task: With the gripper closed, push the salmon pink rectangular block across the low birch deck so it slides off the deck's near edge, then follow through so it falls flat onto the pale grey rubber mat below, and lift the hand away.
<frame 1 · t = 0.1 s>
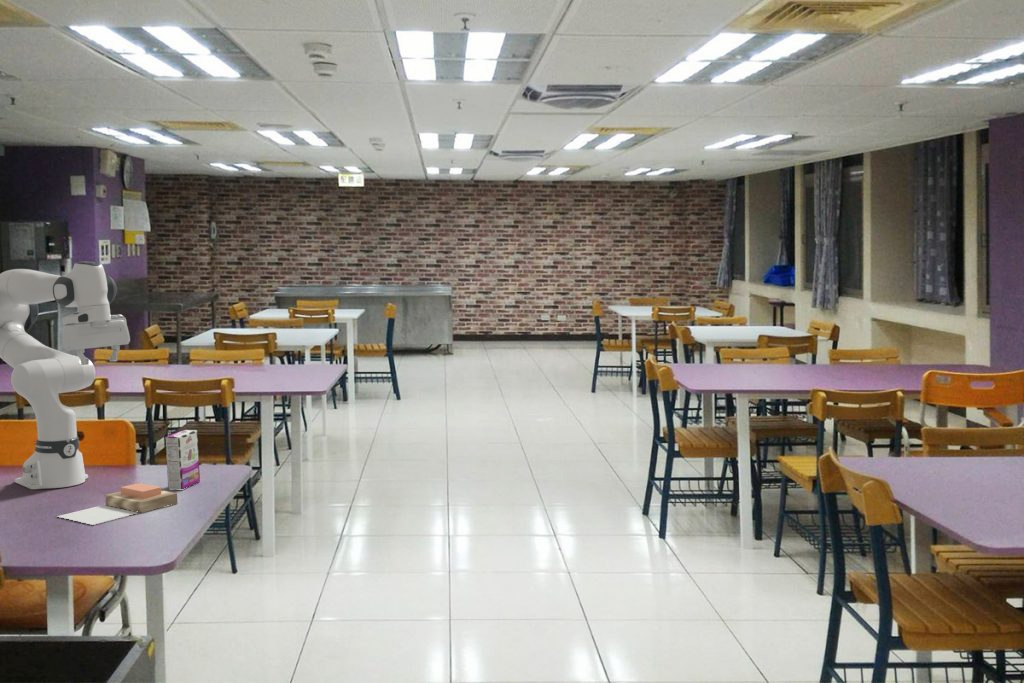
hand: (99, 363, 305), 39 cm above the table, tool pointing down, fingers open, 8 cm apart
salmon pink rectangular block: (141, 494, 295), point 3 cm above the table, touching deck
mat: (97, 515, 283), on the table
candy bar box: (183, 487, 317), on the table
deck: (141, 504, 295), on the table
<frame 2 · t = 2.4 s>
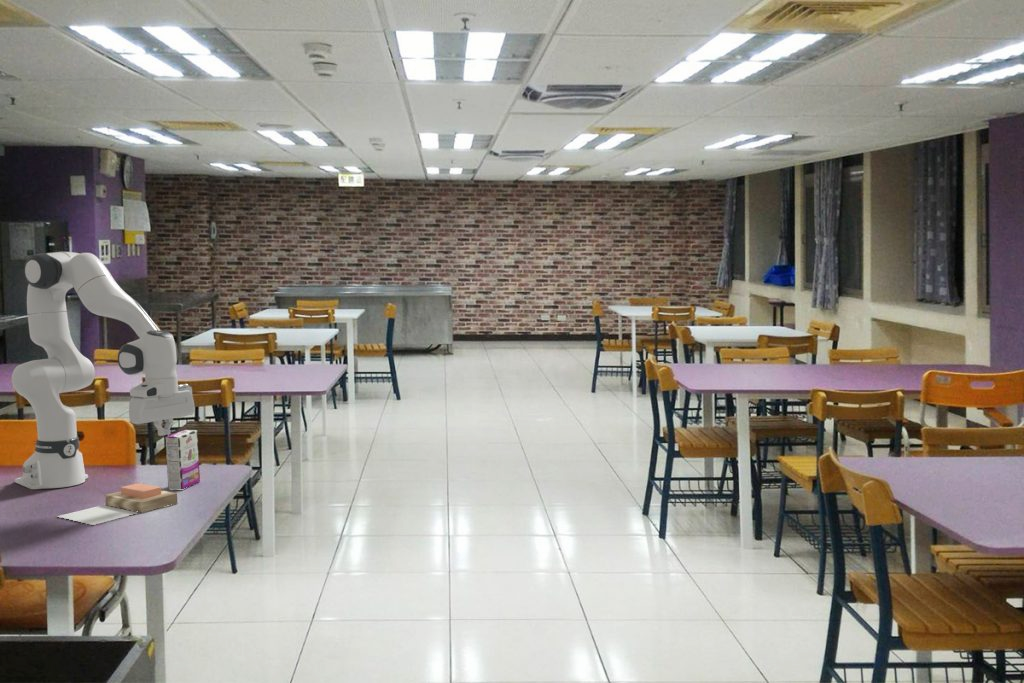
hand: (164, 434, 300), 19 cm above the table, tool pointing down, fingers closed
nothing on the table moved.
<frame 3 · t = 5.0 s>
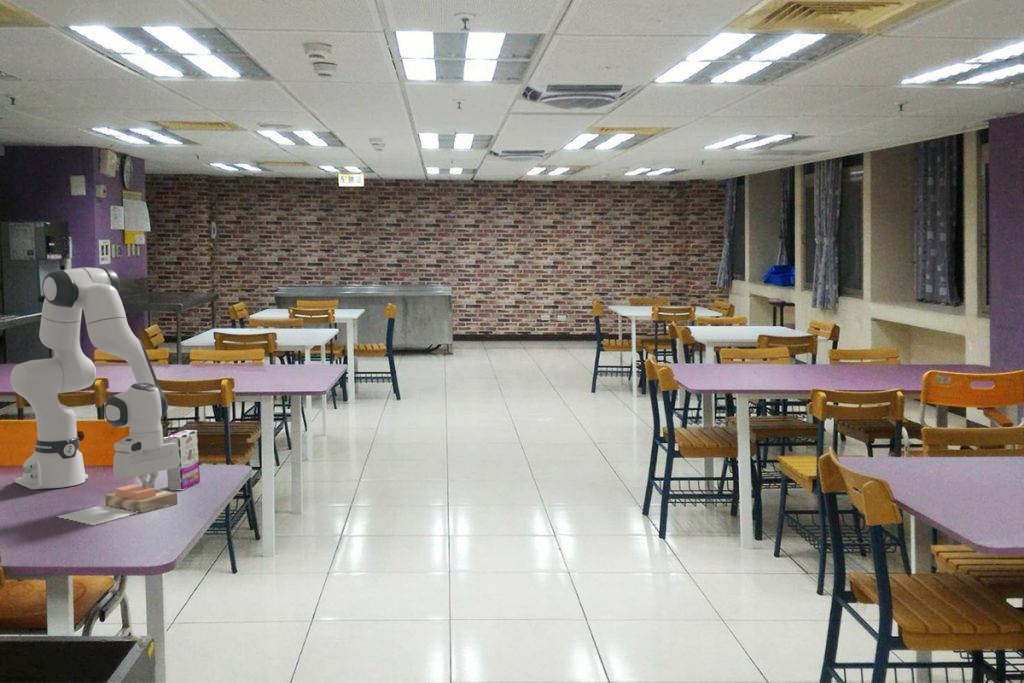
hand: (148, 488, 297), 4 cm above the table, tool pointing down, fingers closed
salmon pink rectangular block: (135, 495, 293), point 3 cm above the table, touching gripper
everything else where it was.
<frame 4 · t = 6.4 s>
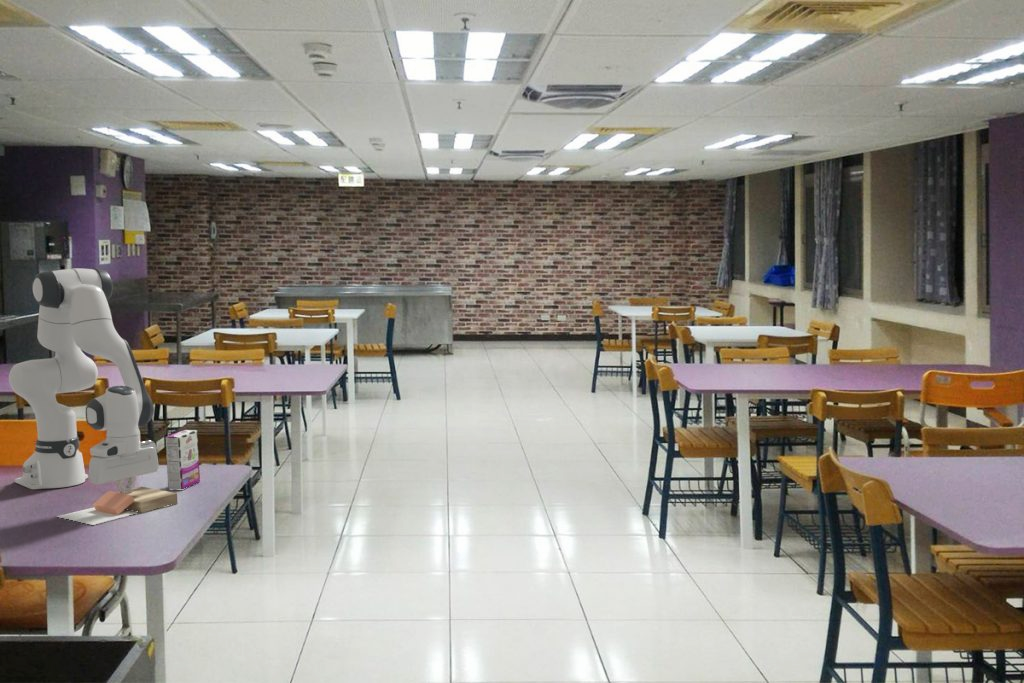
hand: (126, 493, 290), 4 cm above the table, tool pointing down, fingers closed
salmon pink rectangular block: (115, 505, 288), point 2 cm above the table, tilted 27°, touching deck, gripper, mat
everything else where it was.
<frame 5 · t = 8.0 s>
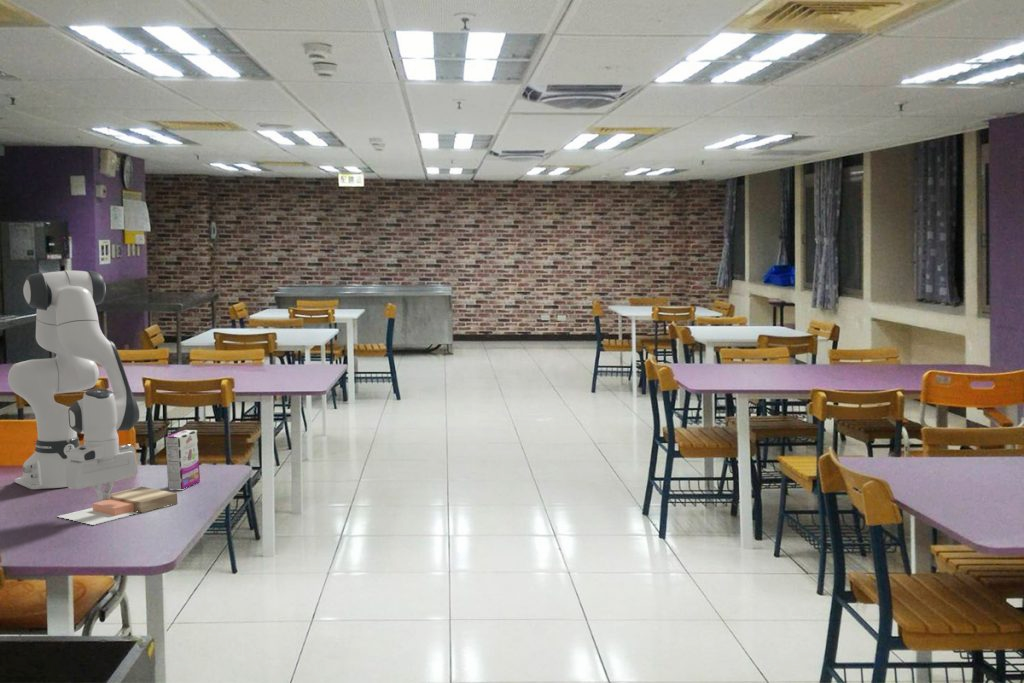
hand: (104, 499, 285), 4 cm above the table, tool pointing down, fingers closed
salmon pink rectangular block: (113, 510, 287), resting on mat
everything else where it was.
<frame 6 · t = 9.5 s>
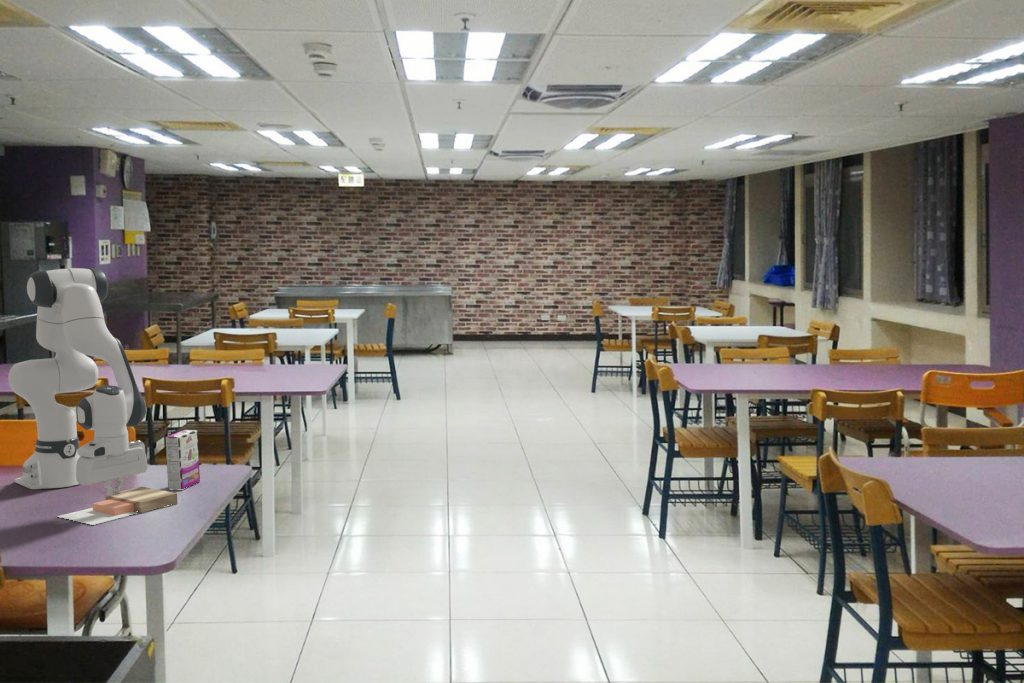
hand: (114, 494, 288), 5 cm above the table, tool pointing down, fingers closed
nothing on the table moved.
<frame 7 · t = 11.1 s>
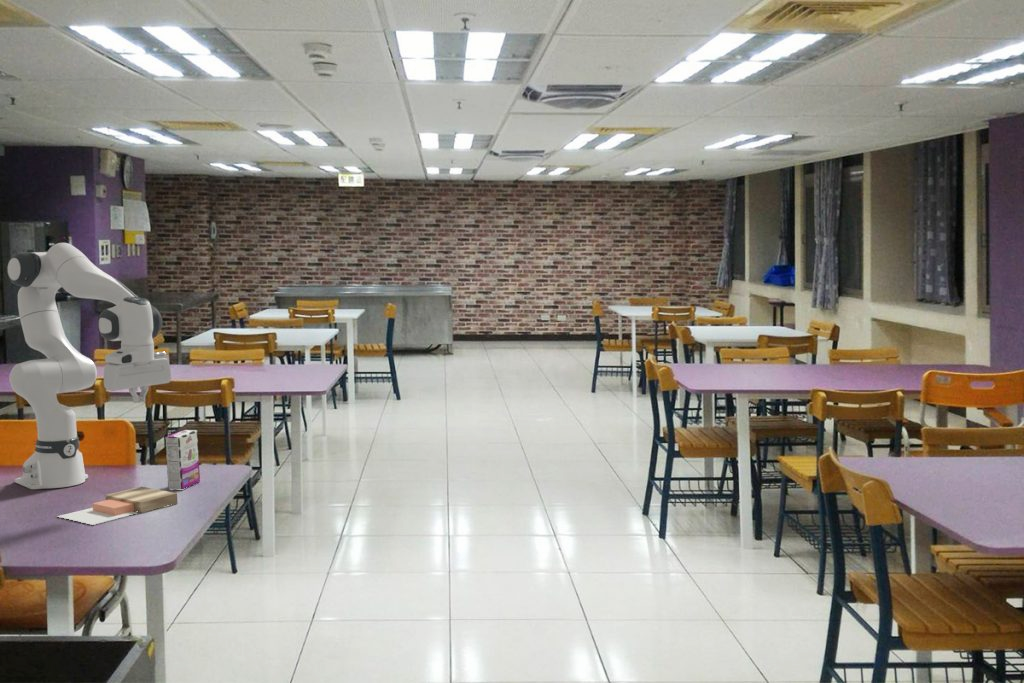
hand: (139, 402, 298), 28 cm above the table, tool pointing down, fingers closed
nothing on the table moved.
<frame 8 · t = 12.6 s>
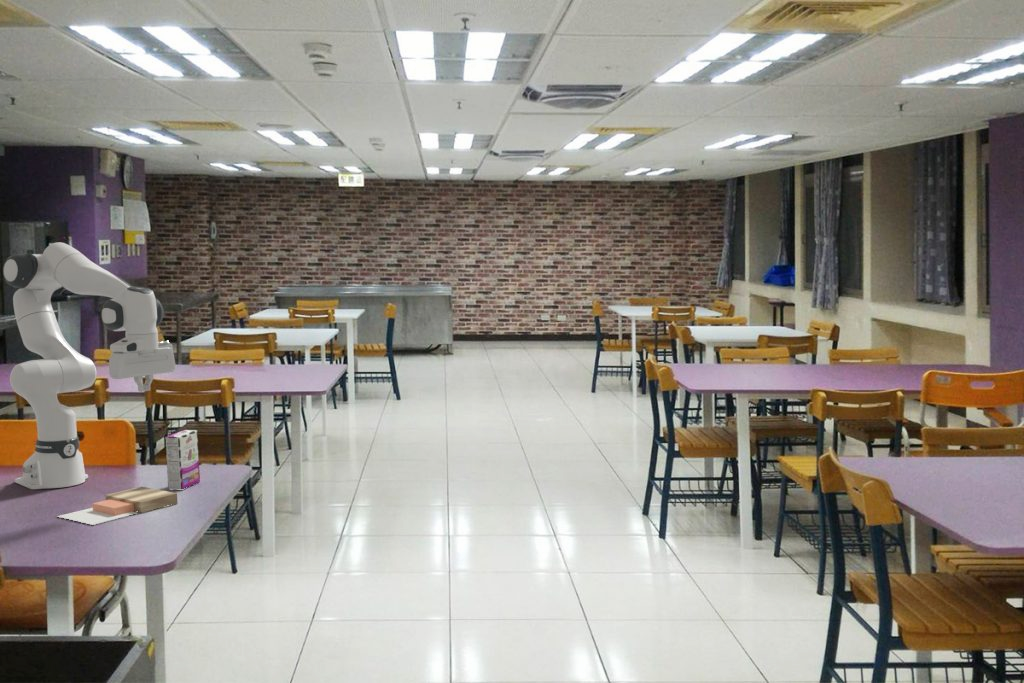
hand: (144, 391, 301), 31 cm above the table, tool pointing down, fingers closed
nothing on the table moved.
at the end: salmon pink rectangular block resting on mat; salmon pink rectangular block inside the target area on the mat (4.9 cm from its centre), point 0.3 cm above the mat's base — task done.
